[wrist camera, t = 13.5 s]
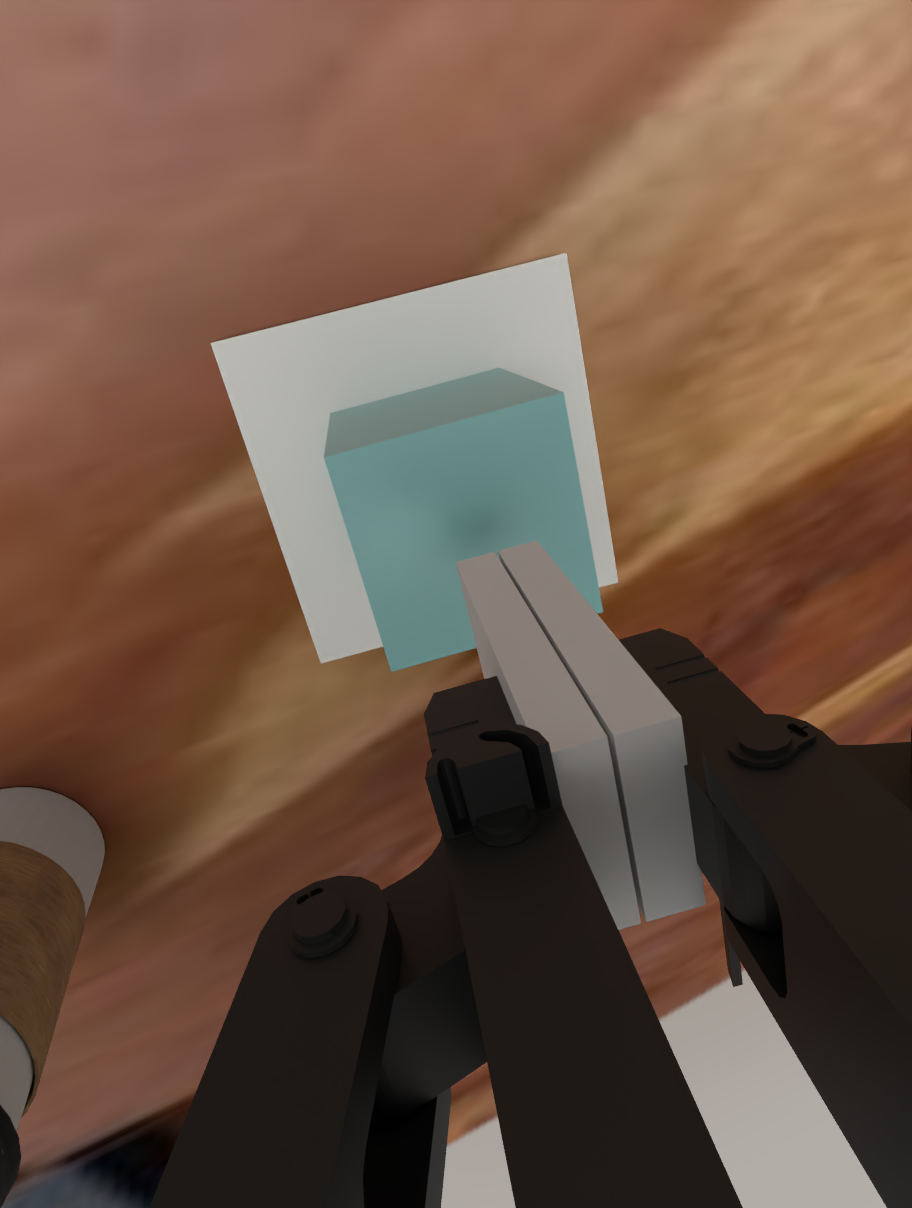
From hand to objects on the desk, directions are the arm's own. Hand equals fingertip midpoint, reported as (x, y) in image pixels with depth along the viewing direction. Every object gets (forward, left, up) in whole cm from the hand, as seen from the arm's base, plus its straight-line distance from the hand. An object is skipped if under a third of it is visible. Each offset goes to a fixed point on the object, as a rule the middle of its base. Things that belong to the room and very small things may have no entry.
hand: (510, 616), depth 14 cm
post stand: (0, 0, -14) cm, 14 cm away
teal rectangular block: (0, 0, -13) cm, 13 cm away
